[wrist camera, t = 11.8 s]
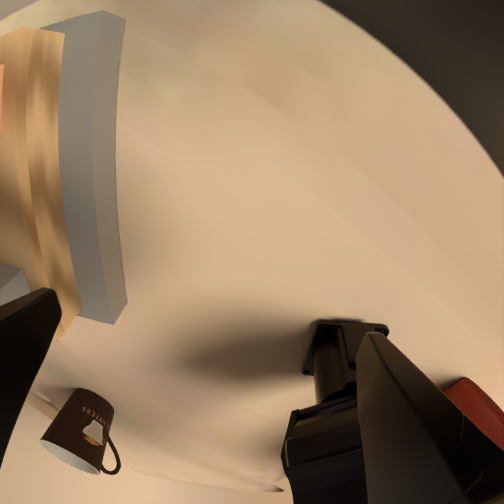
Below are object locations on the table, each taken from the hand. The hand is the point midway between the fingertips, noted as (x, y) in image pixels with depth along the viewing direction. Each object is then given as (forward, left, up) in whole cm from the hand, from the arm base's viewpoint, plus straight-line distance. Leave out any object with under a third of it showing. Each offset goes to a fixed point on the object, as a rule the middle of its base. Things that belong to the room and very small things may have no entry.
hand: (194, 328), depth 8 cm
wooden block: (0, +15, -10) cm, 18 cm away
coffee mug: (-33, +18, -13) cm, 40 cm away
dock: (0, +15, -13) cm, 20 cm away
